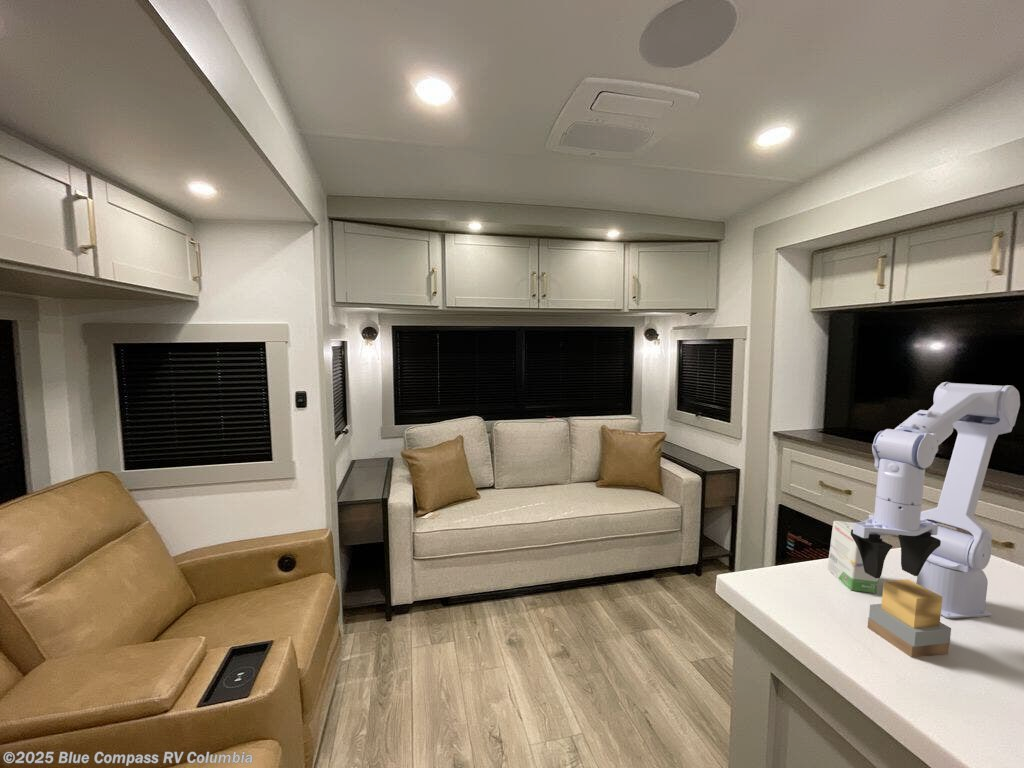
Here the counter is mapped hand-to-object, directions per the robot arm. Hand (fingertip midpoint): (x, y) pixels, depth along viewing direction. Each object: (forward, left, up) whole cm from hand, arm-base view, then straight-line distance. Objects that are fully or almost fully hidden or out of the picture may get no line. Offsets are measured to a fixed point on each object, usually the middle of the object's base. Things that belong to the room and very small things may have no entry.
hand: (891, 574), depth 69 cm
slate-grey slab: (-1, +3, -8) cm, 9 cm away
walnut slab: (-1, +3, -11) cm, 11 cm away
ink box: (-9, -14, -11) cm, 20 cm away
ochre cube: (-1, +3, -6) cm, 7 cm away
